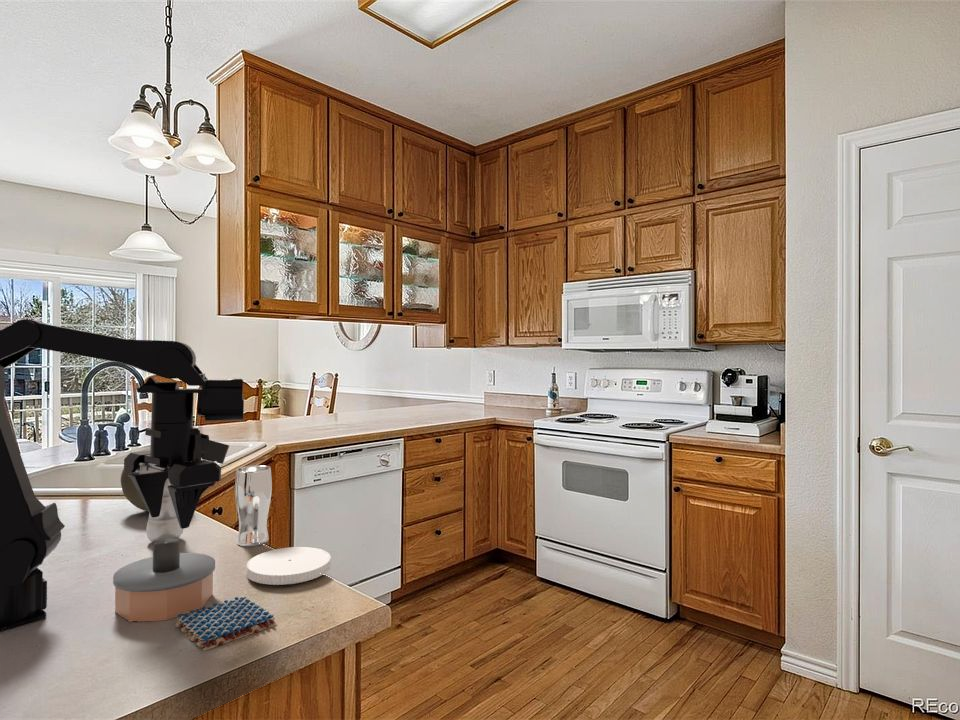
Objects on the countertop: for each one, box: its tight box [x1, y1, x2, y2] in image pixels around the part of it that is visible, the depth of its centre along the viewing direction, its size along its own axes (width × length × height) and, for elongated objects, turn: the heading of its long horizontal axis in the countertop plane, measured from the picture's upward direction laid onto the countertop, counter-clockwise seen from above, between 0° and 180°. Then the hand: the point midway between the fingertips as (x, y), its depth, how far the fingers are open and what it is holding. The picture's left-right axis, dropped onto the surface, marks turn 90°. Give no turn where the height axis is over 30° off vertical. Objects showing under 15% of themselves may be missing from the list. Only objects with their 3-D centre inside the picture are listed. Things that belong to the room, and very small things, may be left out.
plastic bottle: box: [145, 479, 184, 543], centre depth 114 cm, size 6×7×20 cm
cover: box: [112, 538, 216, 592], centre depth 86 cm, size 14×14×5 cm
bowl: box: [114, 571, 214, 623], centre depth 86 cm, size 12×12×4 cm
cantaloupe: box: [120, 468, 149, 513], centre depth 135 cm, size 14×14×15 cm
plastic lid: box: [246, 546, 332, 586], centre depth 99 cm, size 14×14×2 cm
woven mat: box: [174, 596, 278, 651], centre depth 79 cm, size 10×11×2 cm
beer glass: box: [234, 465, 273, 548], centre depth 115 cm, size 7×7×15 cm
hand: (169, 522), depth 87 cm, fingers open, 9 cm apart
